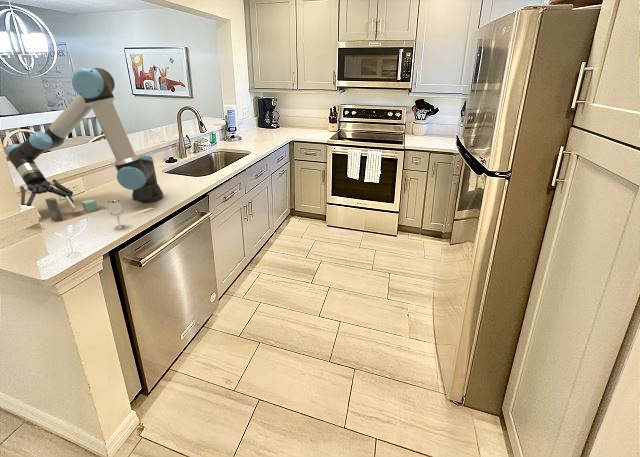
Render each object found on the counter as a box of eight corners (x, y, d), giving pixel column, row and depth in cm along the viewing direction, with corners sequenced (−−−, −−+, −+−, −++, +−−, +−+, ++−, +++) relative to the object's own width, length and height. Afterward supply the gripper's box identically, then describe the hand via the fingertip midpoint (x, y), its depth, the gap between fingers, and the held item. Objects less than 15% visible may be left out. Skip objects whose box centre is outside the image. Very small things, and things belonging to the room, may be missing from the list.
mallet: (100, 207, 177) (94, 186, 173) (107, 209, 174) (102, 188, 169) (51, 221, 160) (43, 198, 156) (58, 224, 157) (50, 201, 152)
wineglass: (113, 225, 156) (107, 200, 151) (128, 223, 158) (122, 198, 153) (111, 230, 151) (104, 204, 146) (126, 228, 153) (120, 202, 148)
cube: (93, 207, 173) (91, 199, 171) (98, 209, 171) (95, 200, 169) (83, 210, 170) (81, 201, 168) (88, 212, 168) (85, 203, 166)
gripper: (61, 174, 170) (85, 209, 169) (-3, 187, 151) (23, 227, 150) (63, 164, 165) (88, 201, 164) (-3, 177, 146) (24, 218, 145)
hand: (57, 213), depth 157 cm, fingers open, 13 cm apart
